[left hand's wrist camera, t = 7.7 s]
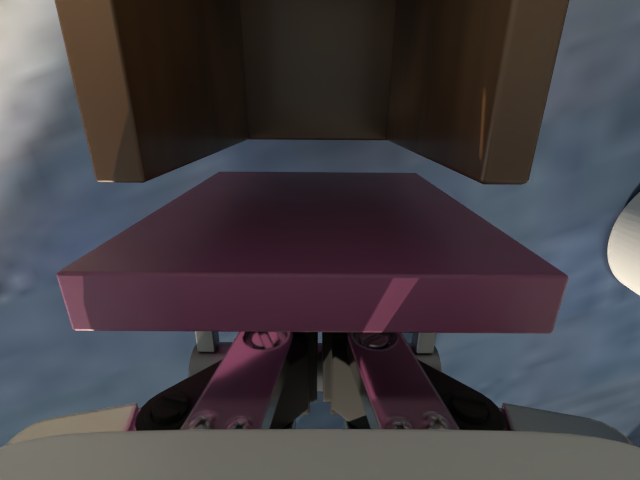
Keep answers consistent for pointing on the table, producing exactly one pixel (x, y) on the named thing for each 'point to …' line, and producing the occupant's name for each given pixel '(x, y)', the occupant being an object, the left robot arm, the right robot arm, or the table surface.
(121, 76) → the drawer
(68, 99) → the table surface
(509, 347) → the table surface
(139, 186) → the table surface
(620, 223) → the coffee cup
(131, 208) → the table surface
